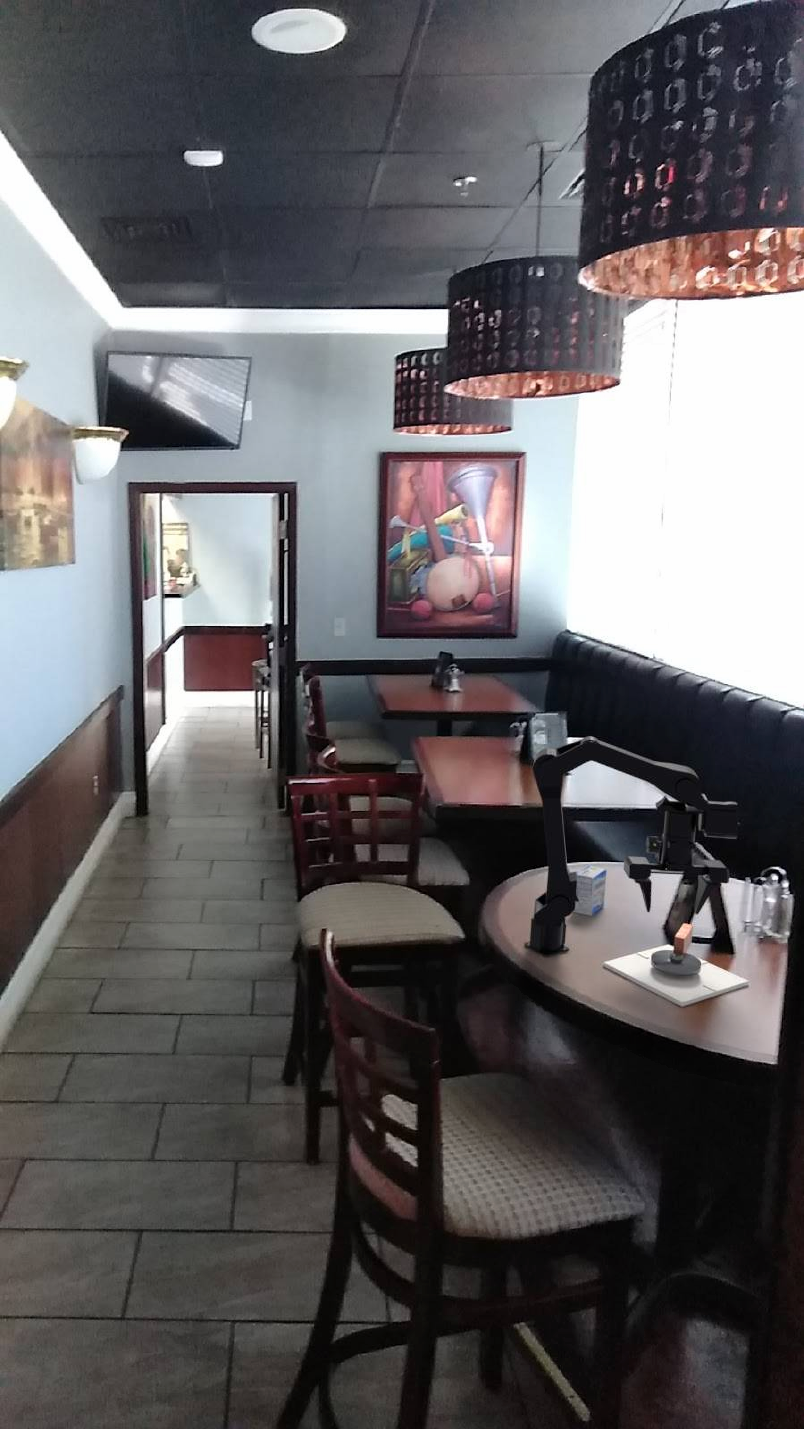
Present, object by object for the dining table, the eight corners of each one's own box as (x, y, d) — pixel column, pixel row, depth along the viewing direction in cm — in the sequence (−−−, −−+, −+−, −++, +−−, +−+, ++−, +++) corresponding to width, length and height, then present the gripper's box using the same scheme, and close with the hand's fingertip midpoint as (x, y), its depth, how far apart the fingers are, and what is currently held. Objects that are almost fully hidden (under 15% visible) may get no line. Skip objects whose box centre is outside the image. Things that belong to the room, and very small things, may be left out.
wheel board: (682, 1006, 174) (682, 998, 173) (603, 966, 189) (603, 958, 189) (748, 984, 184) (748, 977, 183) (668, 948, 199) (668, 941, 199)
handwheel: (709, 953, 192) (712, 929, 192) (695, 980, 180) (698, 954, 179) (662, 943, 196) (664, 919, 196) (645, 968, 184) (648, 943, 183)
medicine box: (591, 917, 214) (594, 878, 213) (571, 912, 217) (574, 873, 215) (604, 906, 221) (607, 869, 219) (585, 902, 223) (588, 864, 222)
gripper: (716, 824, 196) (709, 900, 199) (621, 820, 196) (615, 895, 199) (733, 840, 185) (725, 920, 188) (633, 836, 185) (626, 916, 188)
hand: (672, 912), depth 191 cm, fingers open, 9 cm apart
